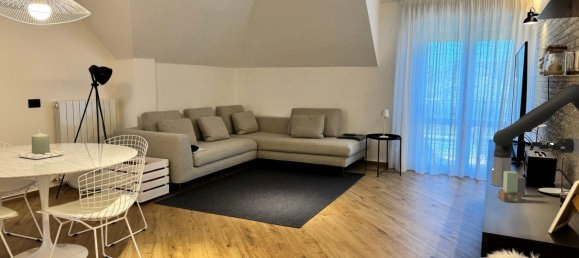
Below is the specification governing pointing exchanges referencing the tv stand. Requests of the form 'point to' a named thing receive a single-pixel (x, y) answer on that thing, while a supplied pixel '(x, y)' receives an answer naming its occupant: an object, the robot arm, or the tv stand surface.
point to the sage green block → (510, 181)
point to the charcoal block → (521, 185)
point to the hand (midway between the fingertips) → (535, 145)
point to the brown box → (509, 196)
